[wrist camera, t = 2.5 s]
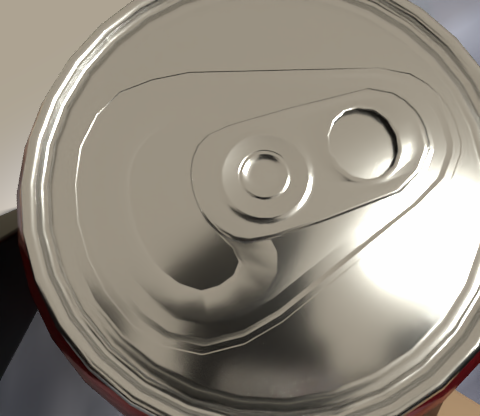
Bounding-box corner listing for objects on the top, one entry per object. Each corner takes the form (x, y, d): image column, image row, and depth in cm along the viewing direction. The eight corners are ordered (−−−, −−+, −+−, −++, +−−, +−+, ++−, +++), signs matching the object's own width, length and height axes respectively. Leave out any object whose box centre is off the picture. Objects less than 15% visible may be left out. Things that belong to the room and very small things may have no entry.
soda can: (186, 372, 16) (31, 567, 4) (150, 198, 18) (-37, -2, 6) (364, 326, 16) (663, 392, 5) (313, 158, 18) (440, -107, 6)
